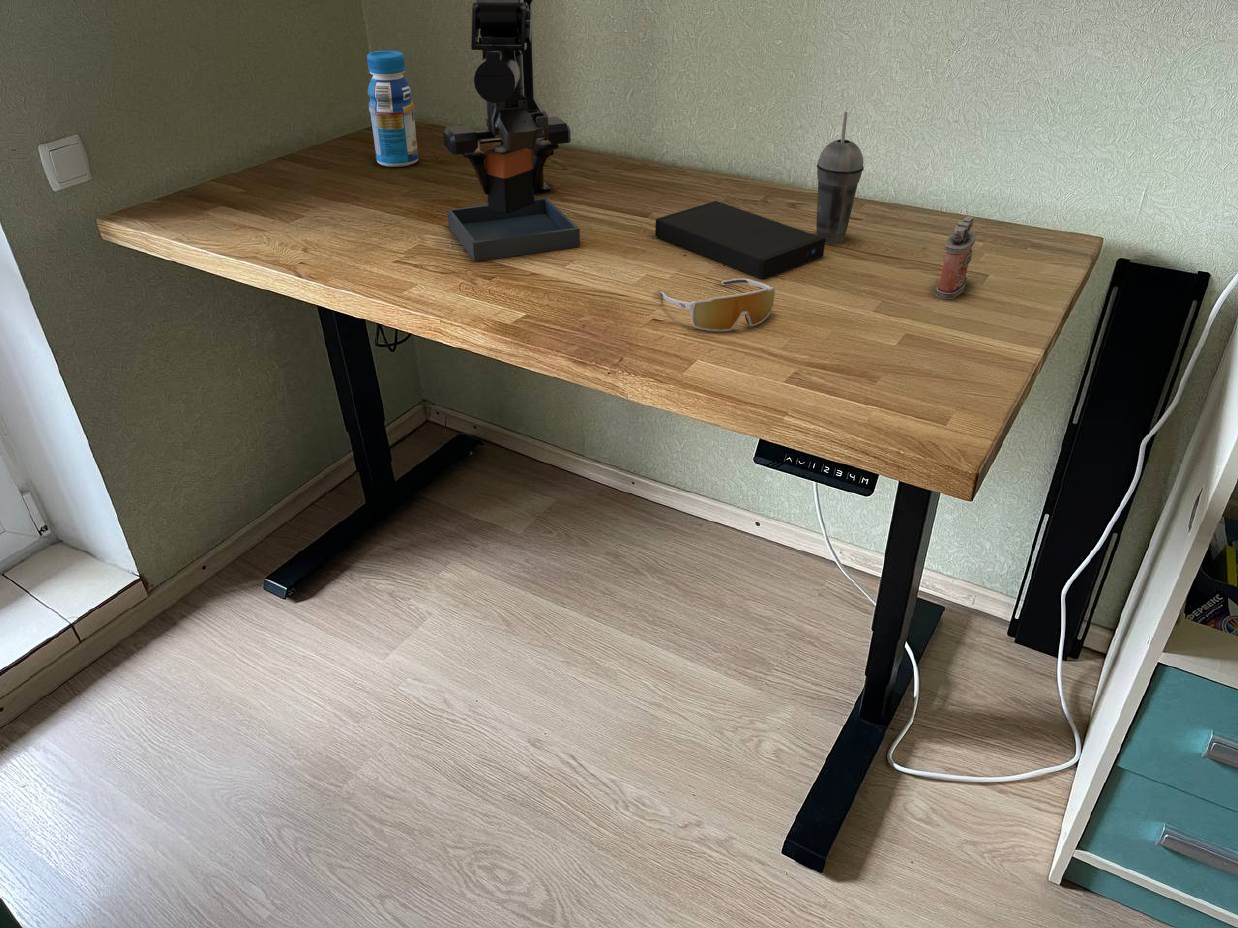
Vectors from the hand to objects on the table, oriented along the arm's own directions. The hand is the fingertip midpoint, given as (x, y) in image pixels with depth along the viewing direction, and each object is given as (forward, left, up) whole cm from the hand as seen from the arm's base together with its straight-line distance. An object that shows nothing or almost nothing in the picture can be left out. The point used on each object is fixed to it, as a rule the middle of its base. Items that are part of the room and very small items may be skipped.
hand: (510, 190), depth 150 cm
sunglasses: (+37, +18, -8) cm, 42 cm away
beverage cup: (+19, +48, -8) cm, 52 cm away
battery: (0, 0, -3) cm, 3 cm away
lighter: (+43, +53, -8) cm, 69 cm away
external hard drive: (+17, +32, -8) cm, 37 cm away
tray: (0, 0, -8) cm, 8 cm away
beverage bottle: (-48, -9, -8) cm, 49 cm away
